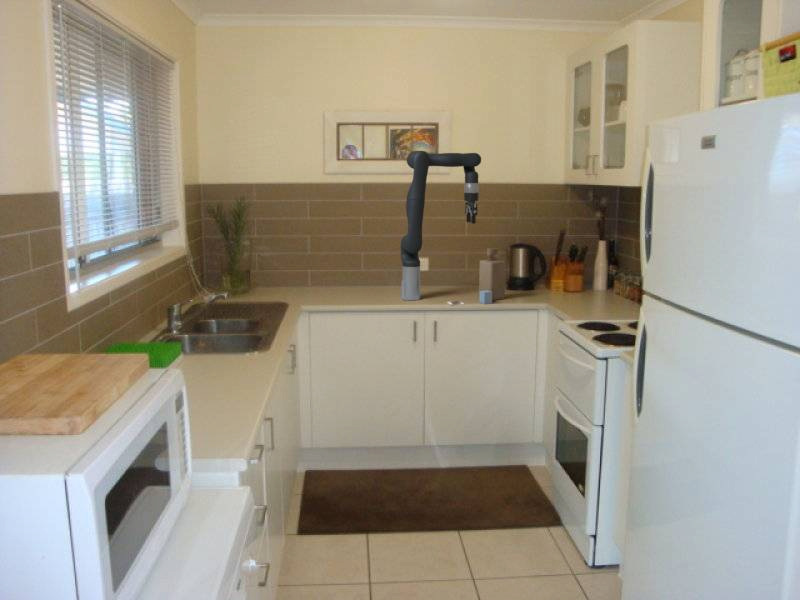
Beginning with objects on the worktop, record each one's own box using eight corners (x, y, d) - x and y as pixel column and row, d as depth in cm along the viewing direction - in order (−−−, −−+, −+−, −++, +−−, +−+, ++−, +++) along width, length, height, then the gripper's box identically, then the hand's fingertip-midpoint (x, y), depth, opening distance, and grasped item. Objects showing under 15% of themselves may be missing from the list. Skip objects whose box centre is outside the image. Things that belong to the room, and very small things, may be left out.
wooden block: (505, 299, 364) (506, 260, 361) (490, 301, 359) (491, 262, 355) (493, 296, 373) (493, 258, 369) (478, 298, 368) (478, 259, 364)
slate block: (484, 304, 351) (484, 292, 350) (479, 302, 355) (479, 291, 354) (491, 303, 353) (492, 291, 352) (486, 302, 357) (487, 290, 356)
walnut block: (489, 261, 360) (490, 249, 359) (486, 259, 364) (487, 248, 363) (498, 260, 361) (498, 249, 360) (495, 259, 365) (495, 248, 364)
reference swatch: (450, 305, 349) (450, 303, 349) (447, 302, 356) (447, 301, 356) (464, 304, 350) (464, 303, 350) (460, 301, 357) (460, 300, 357)
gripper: (460, 191, 376) (460, 221, 379) (468, 192, 362) (468, 224, 365) (474, 191, 377) (473, 221, 380) (482, 192, 364) (481, 223, 367)
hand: (470, 222), depth 373 cm, fingers open, 8 cm apart
